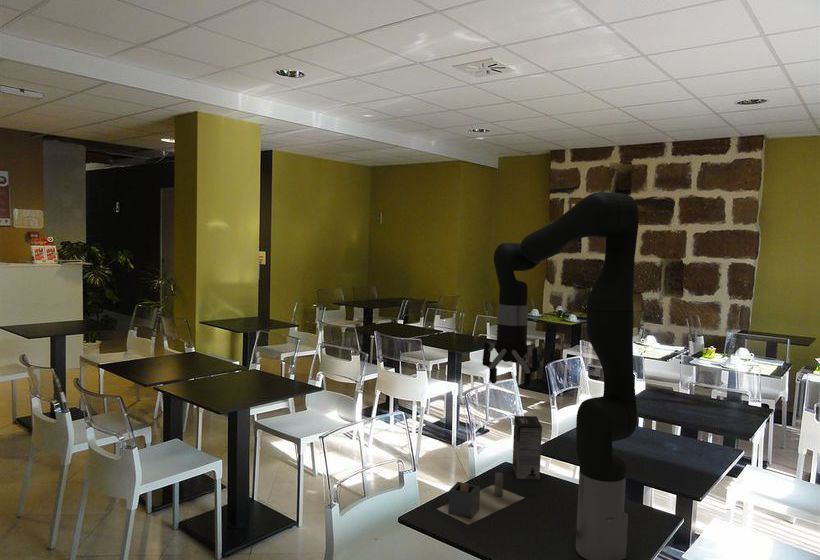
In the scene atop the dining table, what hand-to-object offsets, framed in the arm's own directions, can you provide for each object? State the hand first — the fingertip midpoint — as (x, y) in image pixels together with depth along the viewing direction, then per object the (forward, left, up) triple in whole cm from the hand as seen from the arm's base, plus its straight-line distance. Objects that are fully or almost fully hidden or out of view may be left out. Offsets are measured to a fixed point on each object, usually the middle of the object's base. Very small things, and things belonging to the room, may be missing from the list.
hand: (509, 385), depth 151 cm
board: (-4, +12, -28) cm, 31 cm away
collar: (-5, +18, -27) cm, 33 cm away
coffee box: (+4, -11, -28) cm, 31 cm away
